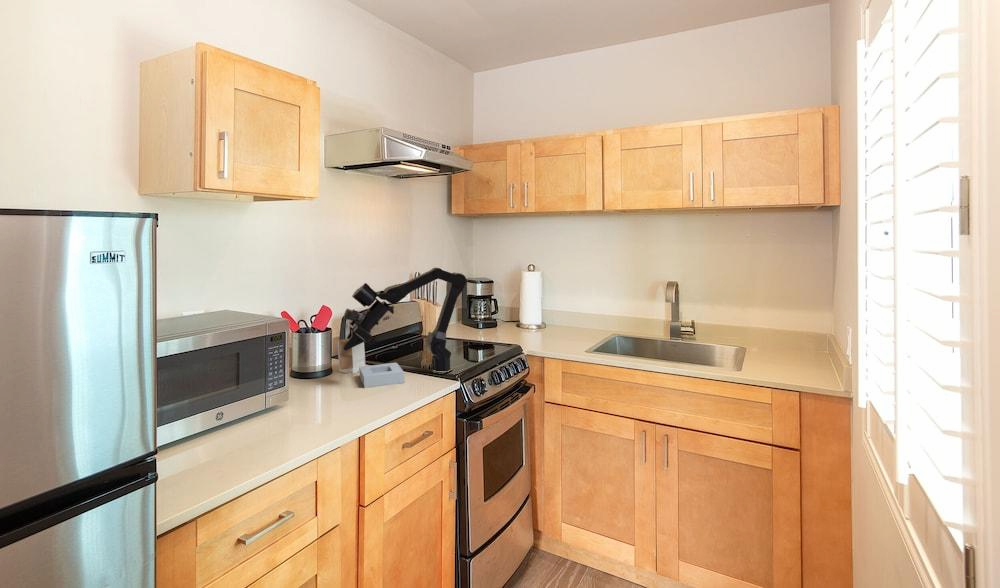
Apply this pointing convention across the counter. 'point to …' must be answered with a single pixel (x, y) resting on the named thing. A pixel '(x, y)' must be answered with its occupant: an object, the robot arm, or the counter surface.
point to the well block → (381, 375)
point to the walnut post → (345, 355)
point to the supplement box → (354, 358)
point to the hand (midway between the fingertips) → (343, 348)
